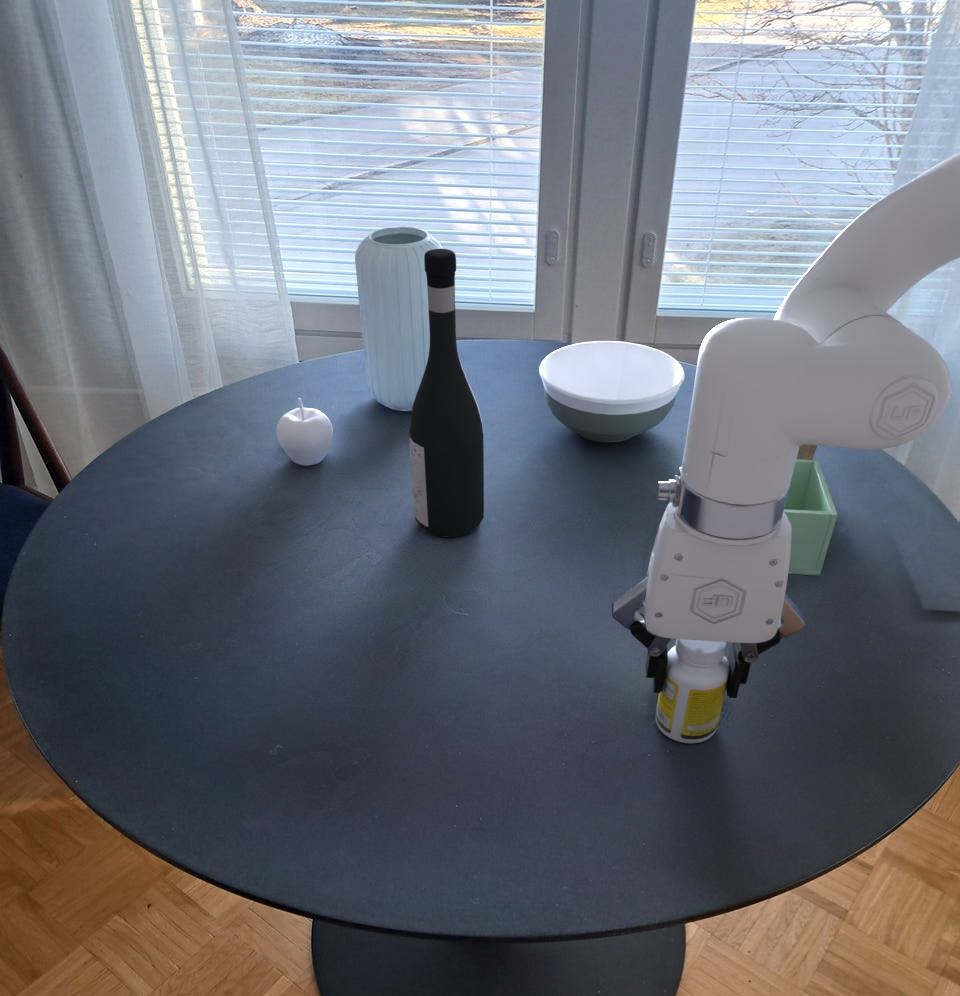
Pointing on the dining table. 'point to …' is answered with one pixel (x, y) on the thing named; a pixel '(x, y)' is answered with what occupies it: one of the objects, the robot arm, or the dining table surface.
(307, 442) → the plain white apple
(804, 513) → the bin
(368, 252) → the vase
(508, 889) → the dining table surface
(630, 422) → the bowl
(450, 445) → the wine bottle
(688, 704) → the supplement bottle
